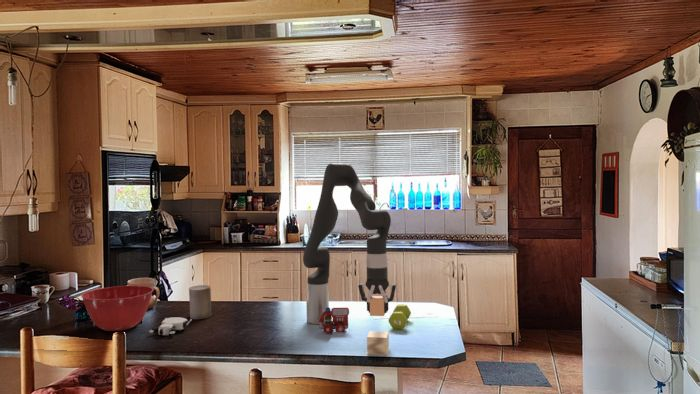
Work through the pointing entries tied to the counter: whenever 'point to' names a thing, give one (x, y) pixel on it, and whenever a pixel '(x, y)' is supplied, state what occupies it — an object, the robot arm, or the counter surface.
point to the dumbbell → (399, 317)
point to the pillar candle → (200, 302)
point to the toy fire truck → (334, 320)
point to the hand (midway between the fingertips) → (377, 312)
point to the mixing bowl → (117, 306)
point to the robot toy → (170, 325)
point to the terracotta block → (377, 306)
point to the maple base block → (377, 342)
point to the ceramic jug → (148, 283)
